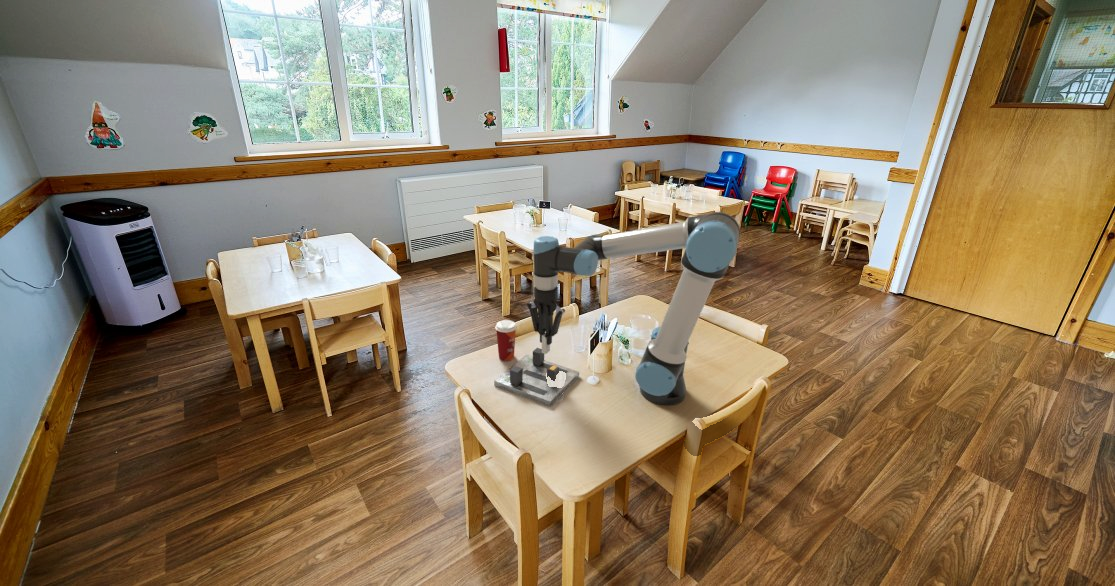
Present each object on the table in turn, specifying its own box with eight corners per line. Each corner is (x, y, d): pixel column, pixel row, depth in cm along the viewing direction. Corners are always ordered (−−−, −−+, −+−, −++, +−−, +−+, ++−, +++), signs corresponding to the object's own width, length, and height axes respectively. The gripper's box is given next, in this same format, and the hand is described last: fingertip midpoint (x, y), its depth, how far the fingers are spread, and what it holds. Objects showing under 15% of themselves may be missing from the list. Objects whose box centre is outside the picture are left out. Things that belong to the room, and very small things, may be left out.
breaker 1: (522, 381, 158) (522, 368, 156) (517, 385, 156) (517, 372, 154) (515, 378, 160) (515, 365, 158) (510, 382, 157) (509, 369, 155)
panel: (579, 376, 166) (579, 371, 165) (550, 406, 150) (550, 401, 149) (526, 358, 175) (526, 354, 174) (494, 385, 159) (494, 380, 158)
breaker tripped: (558, 379, 159) (559, 367, 157) (554, 384, 157) (554, 371, 155) (551, 377, 161) (551, 364, 159) (546, 381, 158) (547, 368, 156)
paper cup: (515, 363, 172) (515, 329, 167) (494, 362, 172) (493, 328, 167) (517, 352, 180) (517, 319, 174) (497, 351, 180) (496, 318, 174)
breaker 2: (544, 361, 169) (544, 349, 167) (539, 365, 167) (539, 353, 165) (537, 359, 171) (537, 347, 169) (532, 363, 168) (532, 351, 166)
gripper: (569, 286, 147) (568, 351, 156) (534, 278, 153) (535, 342, 162) (558, 294, 141) (557, 362, 150) (521, 285, 147) (523, 351, 156)
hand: (545, 351), depth 156 cm, fingers closed
